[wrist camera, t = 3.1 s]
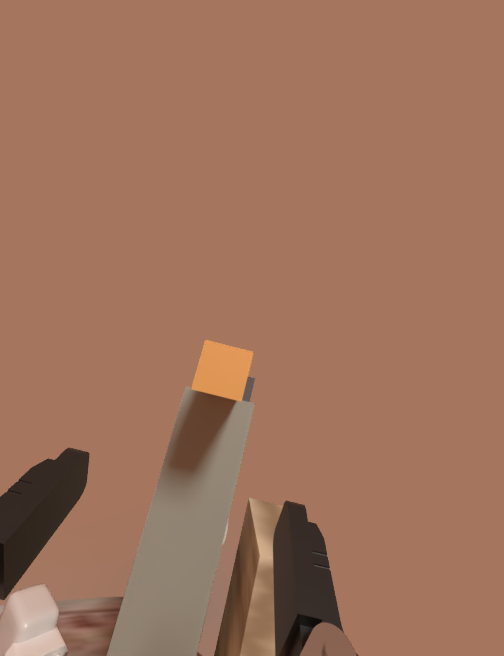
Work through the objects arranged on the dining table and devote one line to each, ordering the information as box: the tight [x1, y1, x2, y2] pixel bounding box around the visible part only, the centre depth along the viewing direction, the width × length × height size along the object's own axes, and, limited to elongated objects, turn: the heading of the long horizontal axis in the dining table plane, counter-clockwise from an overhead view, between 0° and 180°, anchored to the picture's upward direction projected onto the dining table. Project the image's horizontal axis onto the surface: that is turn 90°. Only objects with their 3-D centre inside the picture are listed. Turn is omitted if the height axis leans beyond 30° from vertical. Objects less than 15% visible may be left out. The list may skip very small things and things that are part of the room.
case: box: [107, 377, 255, 656], centre depth 30 cm, size 7×13×34 cm, turn 5°
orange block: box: [191, 340, 253, 402], centre depth 30 cm, size 4×22×4 cm, turn 5°
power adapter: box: [0, 584, 68, 656], centre depth 29 cm, size 11×5×6 cm, turn 53°
